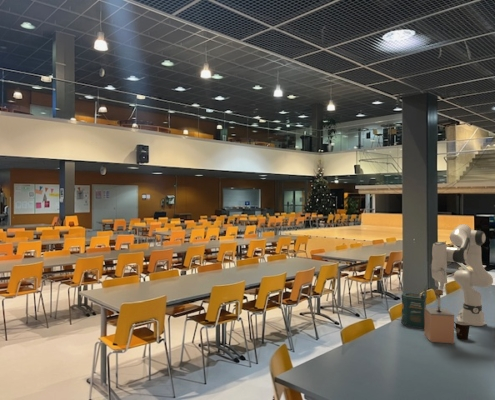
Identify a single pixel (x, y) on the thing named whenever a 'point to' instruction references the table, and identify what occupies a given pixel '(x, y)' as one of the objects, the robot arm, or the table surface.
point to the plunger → (438, 292)
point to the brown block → (439, 325)
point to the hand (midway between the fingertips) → (439, 287)
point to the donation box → (414, 309)
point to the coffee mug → (462, 330)
